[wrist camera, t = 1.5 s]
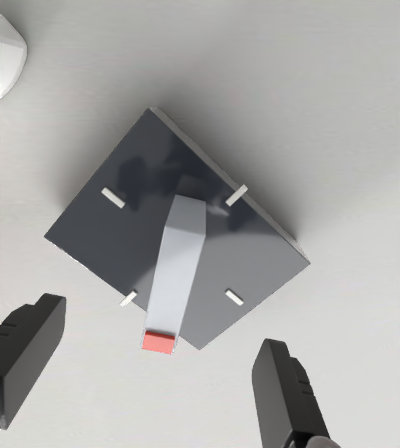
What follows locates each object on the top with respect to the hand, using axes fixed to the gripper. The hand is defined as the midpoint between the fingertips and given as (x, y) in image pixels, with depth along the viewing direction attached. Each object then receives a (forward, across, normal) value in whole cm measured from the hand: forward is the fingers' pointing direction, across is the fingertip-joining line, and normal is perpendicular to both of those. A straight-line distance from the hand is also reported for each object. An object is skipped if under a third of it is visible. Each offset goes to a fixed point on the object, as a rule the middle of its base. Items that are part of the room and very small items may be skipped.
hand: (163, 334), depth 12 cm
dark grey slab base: (+10, 0, 0) cm, 10 cm away
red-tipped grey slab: (+7, 0, 0) cm, 7 cm away
